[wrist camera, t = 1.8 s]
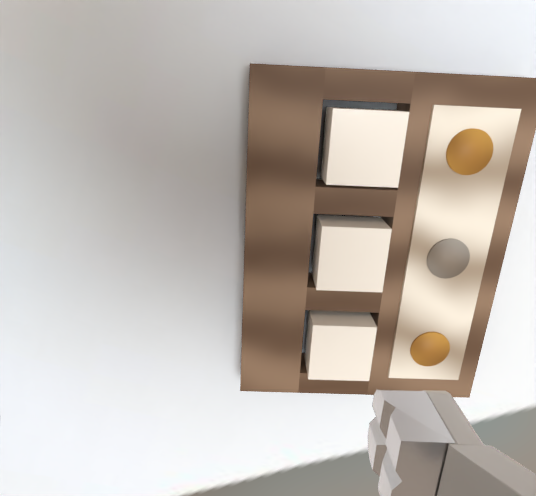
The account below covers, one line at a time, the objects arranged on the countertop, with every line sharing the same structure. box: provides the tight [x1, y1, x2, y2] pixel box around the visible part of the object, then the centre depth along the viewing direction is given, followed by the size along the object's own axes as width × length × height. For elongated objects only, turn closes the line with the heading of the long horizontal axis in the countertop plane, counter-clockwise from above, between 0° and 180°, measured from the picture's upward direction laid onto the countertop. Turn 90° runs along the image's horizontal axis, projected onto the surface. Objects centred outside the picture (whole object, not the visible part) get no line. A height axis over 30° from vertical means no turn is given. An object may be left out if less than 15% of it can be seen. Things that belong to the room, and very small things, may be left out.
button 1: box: [305, 310, 377, 381], centre depth 36 cm, size 5×5×3 cm
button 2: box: [320, 107, 409, 188], centre depth 30 cm, size 5×5×3 cm
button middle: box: [312, 215, 392, 292], centre depth 33 cm, size 5×5×3 cm
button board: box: [240, 64, 536, 397], centre depth 34 cm, size 26×20×4 cm
